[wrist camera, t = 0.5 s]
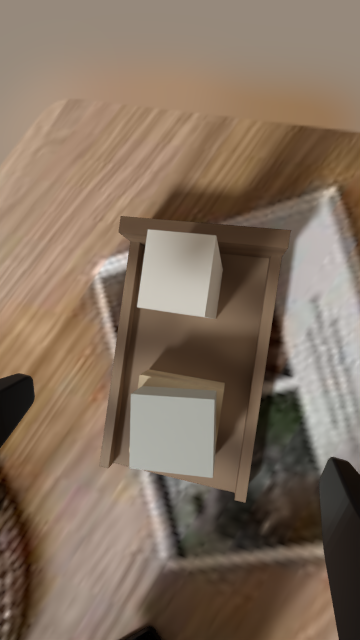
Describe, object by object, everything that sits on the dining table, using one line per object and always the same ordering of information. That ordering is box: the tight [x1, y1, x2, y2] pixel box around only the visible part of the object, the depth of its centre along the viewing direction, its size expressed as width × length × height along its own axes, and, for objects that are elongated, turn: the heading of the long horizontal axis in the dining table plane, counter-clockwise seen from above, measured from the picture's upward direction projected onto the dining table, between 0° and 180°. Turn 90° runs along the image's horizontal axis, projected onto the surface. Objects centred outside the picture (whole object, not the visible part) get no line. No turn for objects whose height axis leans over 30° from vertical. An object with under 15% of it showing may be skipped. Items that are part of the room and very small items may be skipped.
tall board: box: [137, 229, 223, 319], centre depth 19 cm, size 4×4×10 cm
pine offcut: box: [129, 369, 225, 452], centre depth 23 cm, size 6×6×2 cm
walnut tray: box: [99, 216, 291, 503], centre depth 23 cm, size 20×12×4 cm, turn 172°
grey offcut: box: [129, 386, 217, 478], centre depth 20 cm, size 5×6×2 cm
